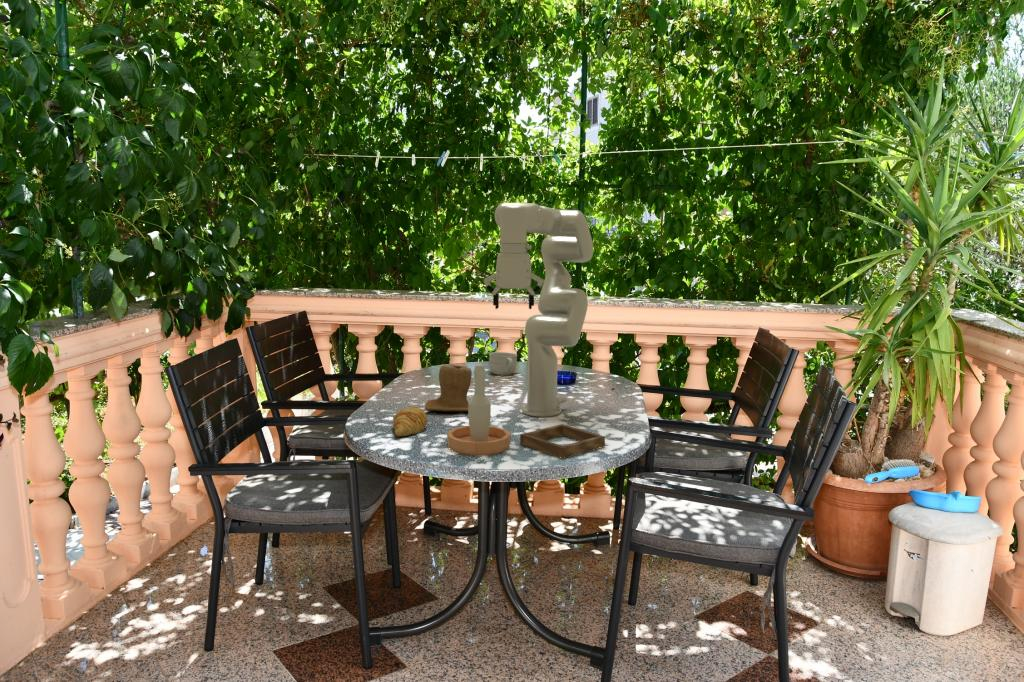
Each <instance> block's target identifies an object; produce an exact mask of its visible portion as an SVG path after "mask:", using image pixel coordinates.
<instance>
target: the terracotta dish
mask: <svg viewBox="0 0 1024 682" xmlns="http://www.w3.org/2000/svg"><path fill="white" fill-rule="evenodd" d="M511 435H512V434H511V433H510V432H509V430H508V429H505V428H503V427H500V426H495V425H490V426H489V434H488V441H479V442H475V441H471V436H470V427H469V425H463V426H460V427H455V428H452V429H451V430H449V431H447V433H446V440H447V441H446V443H447V447H449V448H450V449H451V451H452V450H453V451H452V452H454V451H455V453H457V452H458V453H457V454H463V455H469V456H488V455H489V456H490V455H496V454H499V453H500V454H501V453H503V452H505V451H508V450H509V448H510V445H511V443H512V442H511V440H512V439H511V437H512V436H511ZM449 448H448V449H449ZM450 449H449V450H450Z"/></svg>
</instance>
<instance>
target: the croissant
mask: <svg viewBox="0 0 1024 682" xmlns="http://www.w3.org/2000/svg"><path fill="white" fill-rule="evenodd" d="M427 420H428V418H427V413H426V412H425V411H424V410H423V409H422V408H419V407H418V406H408V407H405V408H402V409H400V410H398V411H397V412H396V413H395V414H394V415H393V417H392V423H393V424H392V427H393V430H394V435H395V436H396V437H408V436H411V434H412V435H414V434H419V433H422V432H424V429H425V427H426V426H427V422H428V421H427ZM418 432H419V433H418Z"/></svg>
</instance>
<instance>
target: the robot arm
mask: <svg viewBox="0 0 1024 682" xmlns="http://www.w3.org/2000/svg"><path fill="white" fill-rule="evenodd" d="M494 220H495V223H496V225H497V226H498V227H499V229H500V230H499V233H500V234H499V235H500V237H499V238H500V239H499V240H500V243H499V245H500V246H499V248H500V249H499V250H500V252H499V253H497V258H496V267H495V273H493V274H491V275H490V276H487V277H485V278H484V279H483V280H482V281H483V283H484V285H485V287H486V289H487V290H488V291H489V292H490V293H491V294H492V300H493V301H492V305H493V306H495V307H494V308H495V310H498V309H499V308H500V306H499V305H500V303H499V302H500V299H499V292H500V291H501V289H502V290H503V289H504V290H511V289H512V290H525V289H526V290H527V291H528V293H529V295H528V309H529V310H532V308H533V306H535V295H536V294H537V292H539V291H540V294H539V298H538V303H537V309H538V311H539V313H540V314H534V315H532V316H529V318H528V319H527V320H526V321H525V325H524V326H525V327H524V329H525V330H524V331H525V332H524V333H525V338H526V344H527V345H526V346H527V389H526V390H527V397H526V398H527V399H526V400H527V401H526V405H524V406H523V407H522V411H521V412H522V413H523V414H525V415H527V416H531V417H538V418H539V417H540V418H541V417H546V418H547V417H554V416H559V415H560V414H561V413H562V407H560V405H561V404H565V403H567V401H568V399H567V397H566V396H562V397H558V363H559V361H558V356H557V353H556V351H555V350H554V348H553V347H563V348H565V347H566V348H573V347H575V346H576V345H577V344H578V343H579V340H580V338H581V334H582V330H583V326H584V323H585V320H586V316H587V310H588V305H589V303H588V301H589V300H588V295H587V293H586V292H585V290H582V289H580V288H575V287H574V288H572V287H571V283H572V277H571V274H570V273H569V271H568V269H567V268H566V267H565V265H563V262H565V263H587V262H589V261H591V260H592V258H593V254H594V243H593V238H592V235H591V231H590V228H589V224H588V222H587V221H588V220H587V219H586V217H585V215H584V213H583V212H582V211H580V210H578V209H558V208H557V209H556V208H552V207H548V206H545V205H540V204H537V203H532V202H529V203H528V202H502V203H499V204H498V205H497V206H496V208H495V210H494ZM528 233H529V234H538V235H544V236H547V237H545V238H544V239H543V240H542V242H541V256H542V262H543V266H544V270H545V271H544V272H545V278H544V279H543V278H541V277H540V276H538V275H536V274H534V273H532V263H531V255H530V253H529V252H528V251H530V250H532V249H533V246H532V244H528V243H527V242H528V241H527V240H528V239H527V238H528V235H527V234H528ZM493 280H495V285H496V286H495V288H494V287H493V286H492V285H491V283H490V282H491V281H493ZM532 280H534V281H536V283H537V285H536V286H534V287H532ZM541 287H542V288H541ZM540 289H541V290H540Z"/></svg>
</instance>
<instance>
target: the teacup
mask: <svg viewBox="0 0 1024 682" xmlns="http://www.w3.org/2000/svg"><path fill="white" fill-rule="evenodd" d="M488 355H489V359H488V360H489V361H488V366H489V370H490V371H491V372H492V373H493V374H494V375H499V376H509V375H512V374H513V373H514V372H515V370H516V368H517V361H518V360H517V359H518V354H516V353H513V352H508V351H507V352H505V351H494V352H492V351H491V352H490V353H489V354H488Z"/></svg>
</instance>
